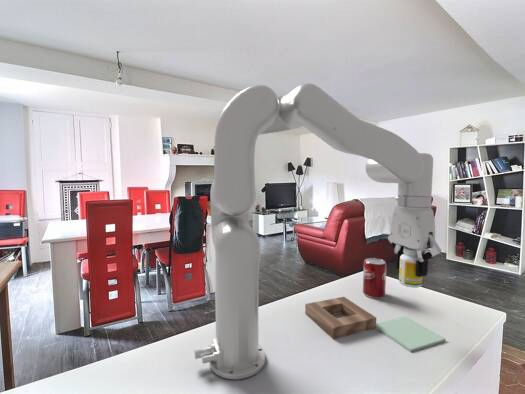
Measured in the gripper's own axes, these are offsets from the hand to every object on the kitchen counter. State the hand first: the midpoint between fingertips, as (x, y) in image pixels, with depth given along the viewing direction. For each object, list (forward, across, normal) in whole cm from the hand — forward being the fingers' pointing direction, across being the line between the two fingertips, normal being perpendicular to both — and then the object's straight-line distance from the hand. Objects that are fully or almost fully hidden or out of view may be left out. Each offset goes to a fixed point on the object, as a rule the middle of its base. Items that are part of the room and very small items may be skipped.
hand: (410, 271), depth 73 cm
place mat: (+17, 0, 0) cm, 17 cm away
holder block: (+17, -12, -13) cm, 24 cm away
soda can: (+17, -22, +9) cm, 29 cm away
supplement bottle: (+4, 0, 0) cm, 4 cm away
